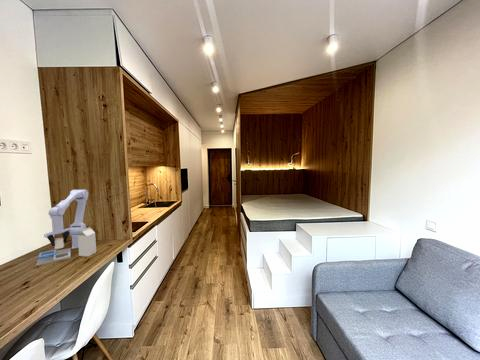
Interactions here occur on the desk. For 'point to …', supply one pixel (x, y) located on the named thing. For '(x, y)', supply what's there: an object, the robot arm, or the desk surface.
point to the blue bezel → (47, 255)
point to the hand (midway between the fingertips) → (59, 244)
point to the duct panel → (55, 256)
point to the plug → (59, 243)
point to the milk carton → (87, 242)
